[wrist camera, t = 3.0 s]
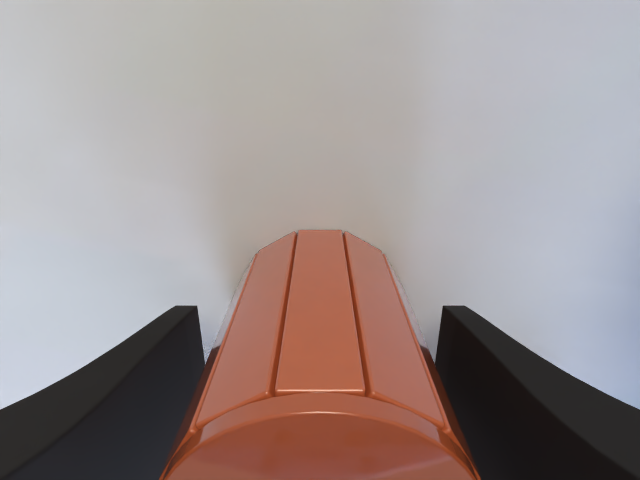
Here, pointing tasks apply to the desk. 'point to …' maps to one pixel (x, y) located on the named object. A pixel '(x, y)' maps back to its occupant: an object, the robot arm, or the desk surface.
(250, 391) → the cup
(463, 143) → the desk surface
